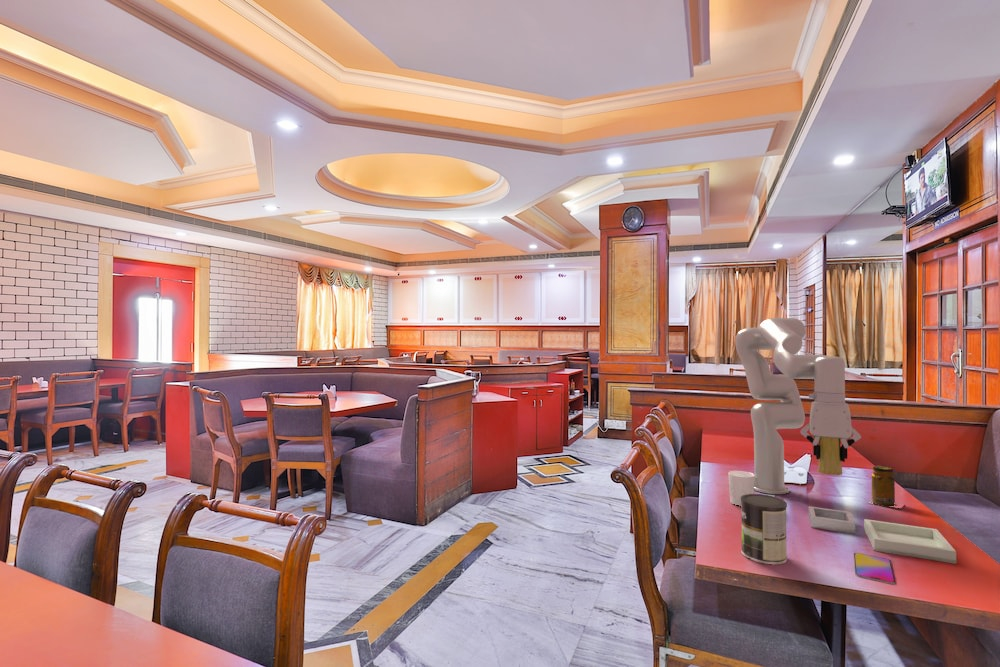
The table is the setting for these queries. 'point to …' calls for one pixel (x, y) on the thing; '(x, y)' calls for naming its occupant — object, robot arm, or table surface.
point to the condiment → (883, 486)
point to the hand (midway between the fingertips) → (830, 458)
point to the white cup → (740, 485)
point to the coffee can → (764, 528)
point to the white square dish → (831, 520)
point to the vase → (830, 456)
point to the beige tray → (909, 541)
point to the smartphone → (873, 568)
